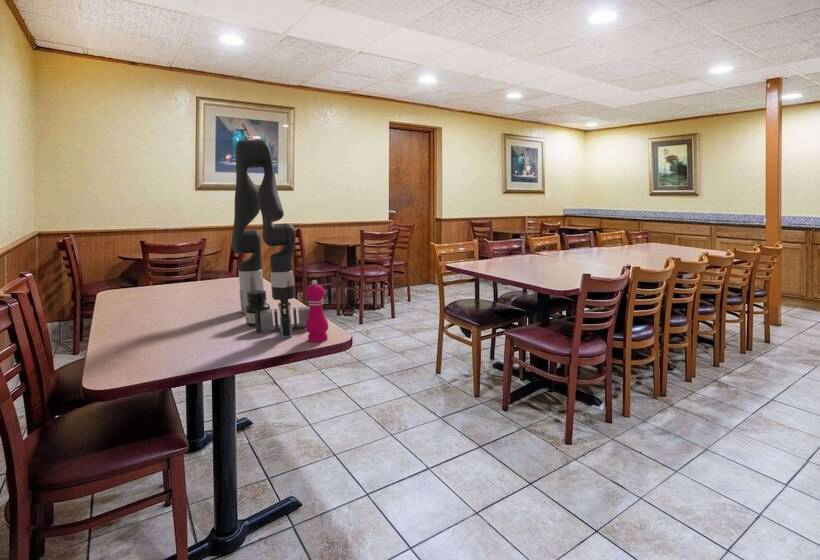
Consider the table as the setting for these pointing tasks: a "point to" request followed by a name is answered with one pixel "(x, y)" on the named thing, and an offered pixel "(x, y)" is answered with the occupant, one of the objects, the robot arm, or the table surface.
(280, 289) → the robot arm
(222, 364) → the table surface
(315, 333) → the pepper mill
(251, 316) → the ink bottle
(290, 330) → the light grey block
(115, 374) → the table surface
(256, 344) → the table surface
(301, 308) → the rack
